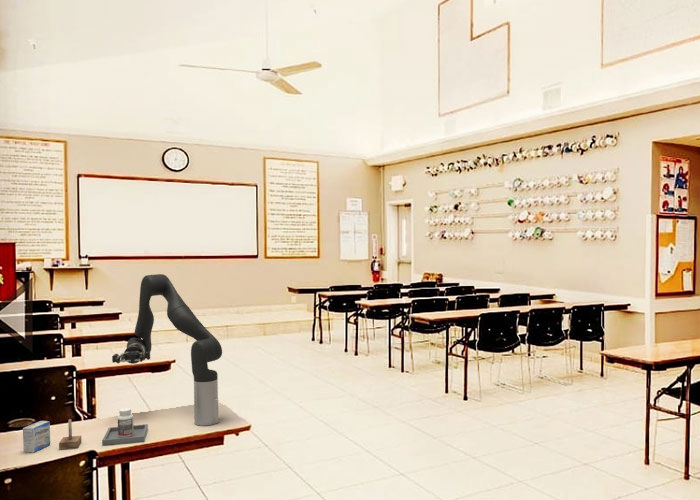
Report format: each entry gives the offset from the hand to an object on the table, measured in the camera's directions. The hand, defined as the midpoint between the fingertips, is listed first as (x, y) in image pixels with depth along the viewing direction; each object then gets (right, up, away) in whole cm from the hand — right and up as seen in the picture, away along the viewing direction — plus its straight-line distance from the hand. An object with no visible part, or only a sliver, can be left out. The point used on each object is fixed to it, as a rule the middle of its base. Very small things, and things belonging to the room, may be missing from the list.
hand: (129, 360), depth 218 cm
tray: (+4, -26, -13) cm, 29 cm away
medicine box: (-24, -27, -23) cm, 43 cm away
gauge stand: (-13, -27, -21) cm, 36 cm away
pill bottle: (+4, -26, -12) cm, 29 cm away
